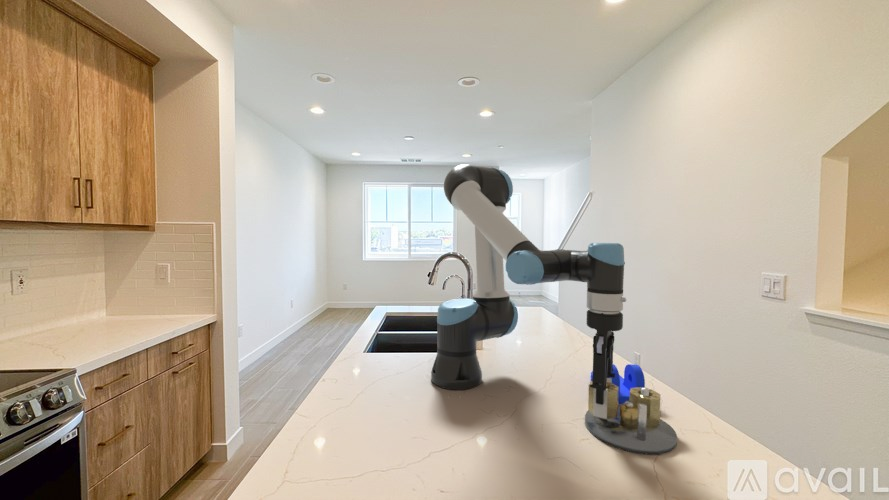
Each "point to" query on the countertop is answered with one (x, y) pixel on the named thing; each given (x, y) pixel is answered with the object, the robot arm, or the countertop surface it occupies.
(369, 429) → the countertop surface
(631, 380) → the bracket
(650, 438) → the carrier
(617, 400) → the octagonal wooden tube
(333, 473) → the countertop surface
